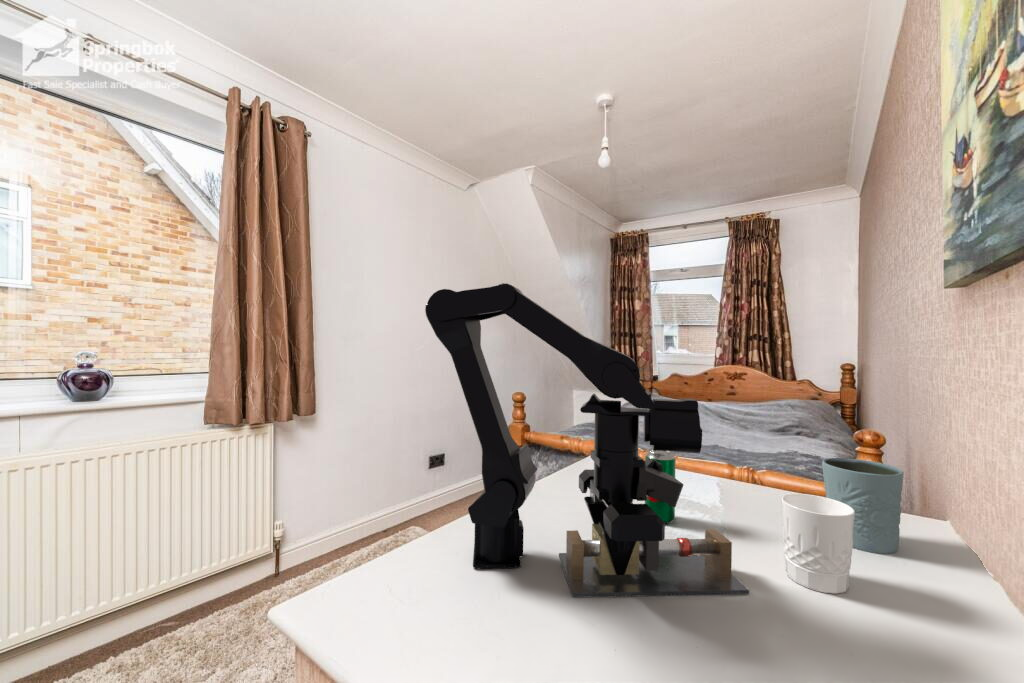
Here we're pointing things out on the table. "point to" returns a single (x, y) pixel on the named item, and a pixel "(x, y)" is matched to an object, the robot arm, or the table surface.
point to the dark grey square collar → (650, 556)
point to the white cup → (817, 541)
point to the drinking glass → (868, 500)
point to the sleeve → (604, 558)
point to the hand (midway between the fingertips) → (614, 564)
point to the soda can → (669, 467)
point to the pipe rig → (679, 570)
